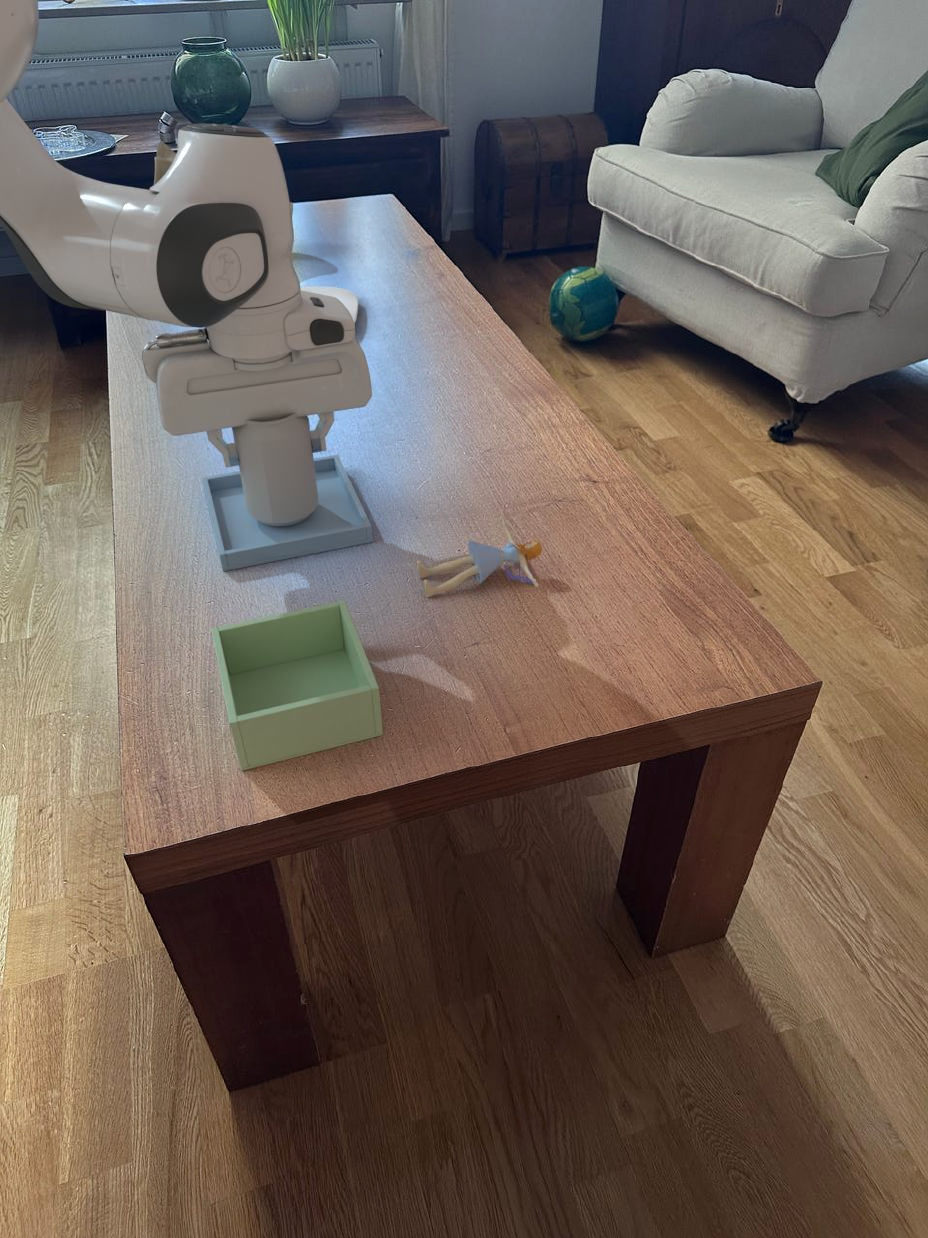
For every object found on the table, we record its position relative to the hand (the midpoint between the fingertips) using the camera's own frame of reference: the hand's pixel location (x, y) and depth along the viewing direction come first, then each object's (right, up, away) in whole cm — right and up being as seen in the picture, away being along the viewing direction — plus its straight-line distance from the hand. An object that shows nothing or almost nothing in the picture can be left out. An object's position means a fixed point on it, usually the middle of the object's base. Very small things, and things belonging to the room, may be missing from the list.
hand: (276, 456), depth 89 cm
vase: (-22, +47, +67) cm, 85 cm away
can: (0, -5, +4) cm, 7 cm away
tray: (0, -6, +5) cm, 7 cm away
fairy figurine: (+21, -13, -3) cm, 25 cm away
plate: (-8, +29, +46) cm, 55 cm away
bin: (+6, -23, -16) cm, 29 cm away
